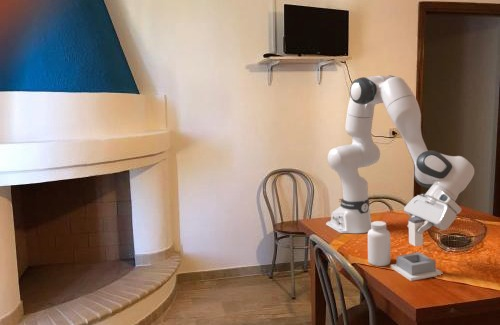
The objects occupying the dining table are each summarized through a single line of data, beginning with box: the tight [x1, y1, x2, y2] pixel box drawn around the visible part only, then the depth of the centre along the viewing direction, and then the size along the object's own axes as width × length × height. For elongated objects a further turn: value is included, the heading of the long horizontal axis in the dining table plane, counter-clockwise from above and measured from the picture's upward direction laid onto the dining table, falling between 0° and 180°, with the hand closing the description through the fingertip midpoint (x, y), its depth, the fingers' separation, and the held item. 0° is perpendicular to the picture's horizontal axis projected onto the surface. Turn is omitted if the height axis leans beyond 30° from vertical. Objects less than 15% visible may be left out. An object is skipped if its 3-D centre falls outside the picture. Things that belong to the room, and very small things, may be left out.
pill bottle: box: [367, 220, 392, 267], centre depth 158 cm, size 8×8×15 cm
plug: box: [408, 216, 424, 247], centre depth 147 cm, size 4×3×9 cm
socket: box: [390, 251, 444, 282], centre depth 149 cm, size 12×12×4 cm
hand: (413, 230), depth 147 cm, fingers closed on plug, 3 cm apart
